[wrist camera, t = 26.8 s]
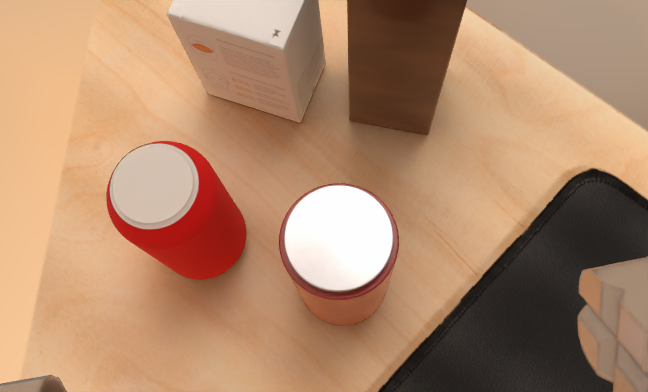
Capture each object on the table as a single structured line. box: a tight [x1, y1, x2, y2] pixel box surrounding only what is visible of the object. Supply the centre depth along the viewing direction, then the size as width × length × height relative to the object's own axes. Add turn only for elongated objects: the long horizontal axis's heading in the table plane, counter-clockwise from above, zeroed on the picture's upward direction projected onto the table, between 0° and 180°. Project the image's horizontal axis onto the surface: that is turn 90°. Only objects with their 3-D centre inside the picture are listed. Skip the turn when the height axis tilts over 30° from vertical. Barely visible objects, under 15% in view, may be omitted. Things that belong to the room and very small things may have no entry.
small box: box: [167, 0, 325, 123], centre depth 41 cm, size 8×6×10 cm
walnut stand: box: [347, 0, 467, 135], centre depth 35 cm, size 8×8×22 cm
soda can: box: [279, 184, 399, 326], centre depth 35 cm, size 6×6×13 cm
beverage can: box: [107, 141, 246, 279], centre depth 37 cm, size 6×6×12 cm
